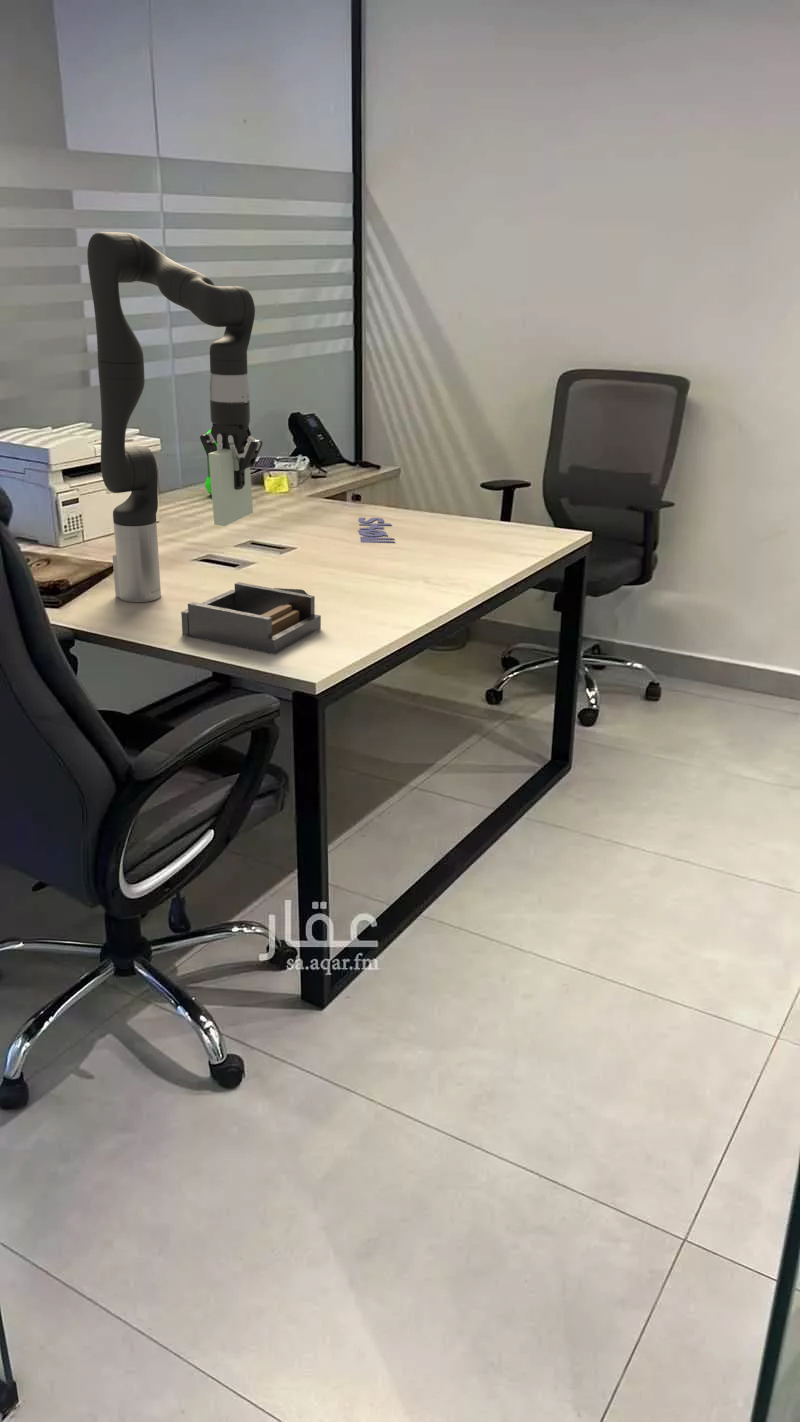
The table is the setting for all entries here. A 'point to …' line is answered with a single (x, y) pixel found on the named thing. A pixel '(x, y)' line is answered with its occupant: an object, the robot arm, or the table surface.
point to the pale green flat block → (228, 489)
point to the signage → (373, 531)
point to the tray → (250, 618)
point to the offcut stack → (282, 618)
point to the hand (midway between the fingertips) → (232, 487)
